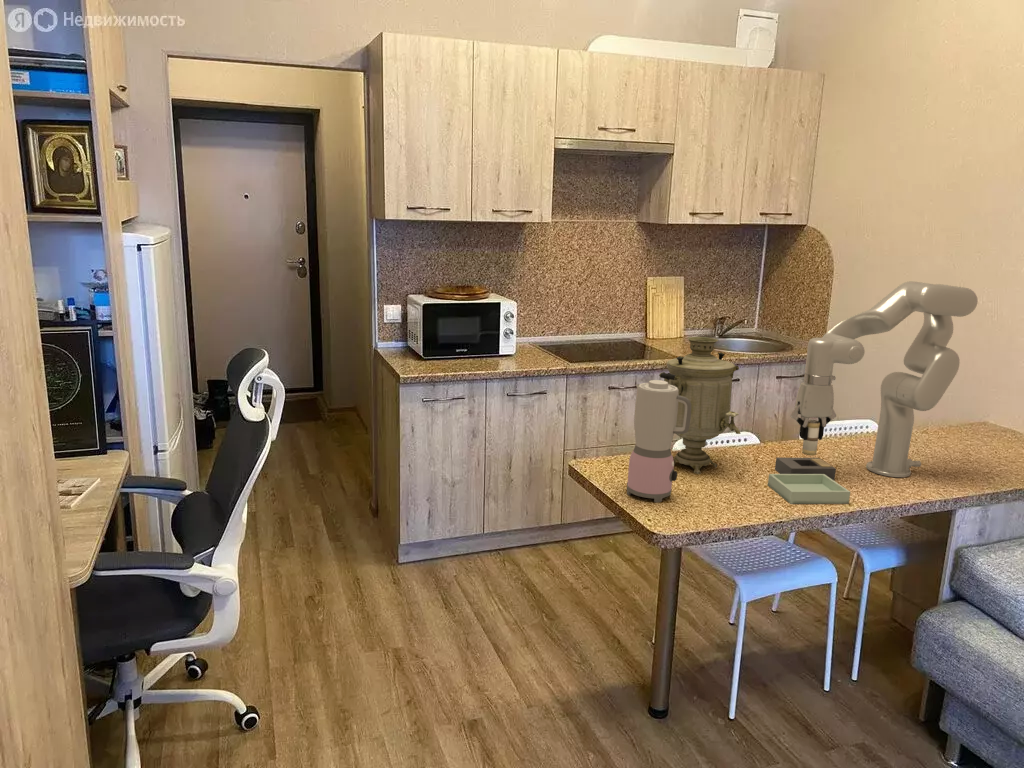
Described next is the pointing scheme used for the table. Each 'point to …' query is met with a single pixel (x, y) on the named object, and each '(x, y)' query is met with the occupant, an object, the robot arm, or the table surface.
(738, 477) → the table surface
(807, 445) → the fuse
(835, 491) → the parts tray
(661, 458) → the blender
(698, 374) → the samovar
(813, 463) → the fuse block
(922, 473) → the table surface
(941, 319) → the robot arm
